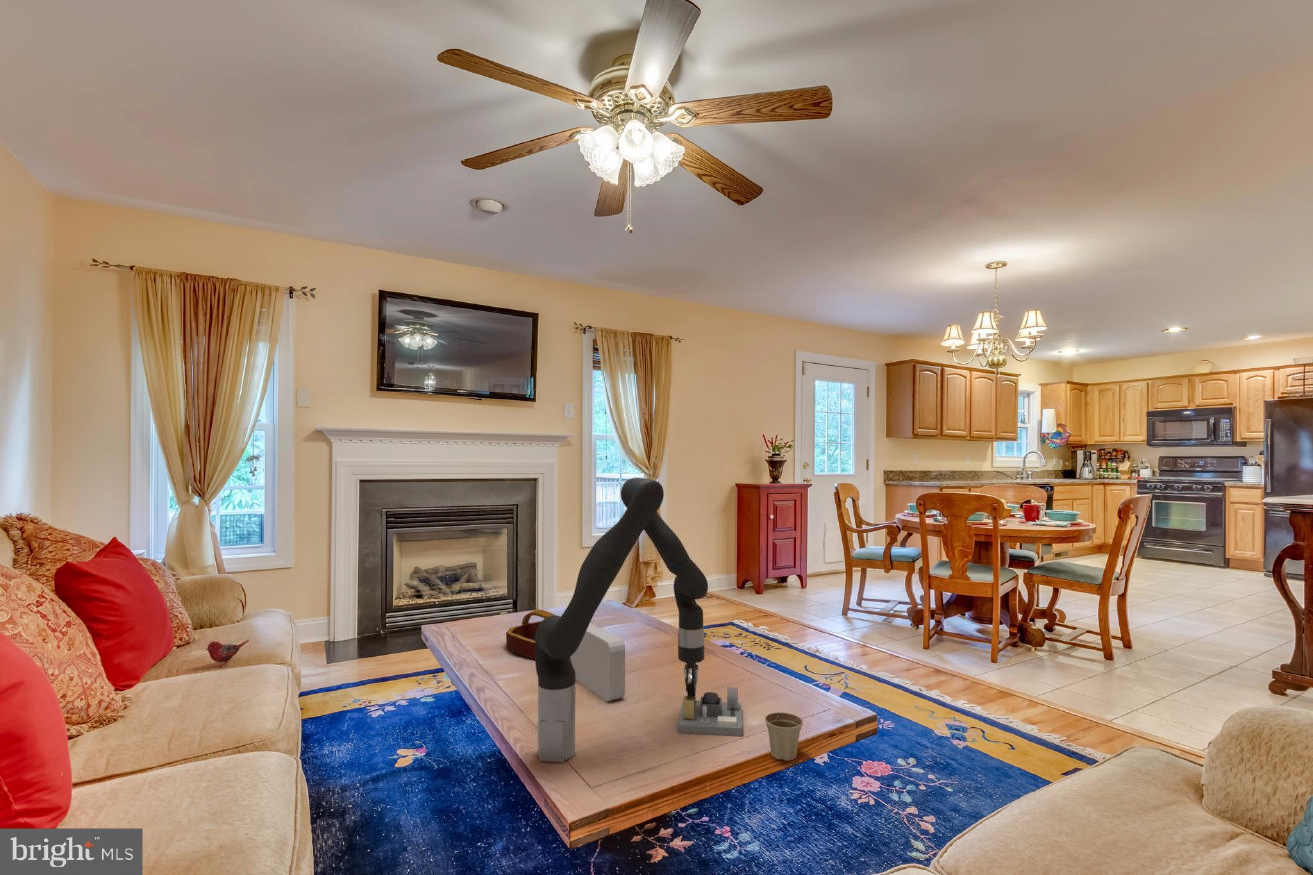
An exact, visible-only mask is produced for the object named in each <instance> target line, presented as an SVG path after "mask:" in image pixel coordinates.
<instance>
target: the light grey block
mask: <svg viewBox="0 0 1313 875" xmlns="http://www.w3.org/2000/svg"><path fill="white" fill-rule="evenodd" d="M726 688H727V689H726V694H727V697H726V700H727V701H726V702H727V709H738V702H739V690H738V689H739V687H738V686H737V687H736V686H727V687H726Z"/></svg>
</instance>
